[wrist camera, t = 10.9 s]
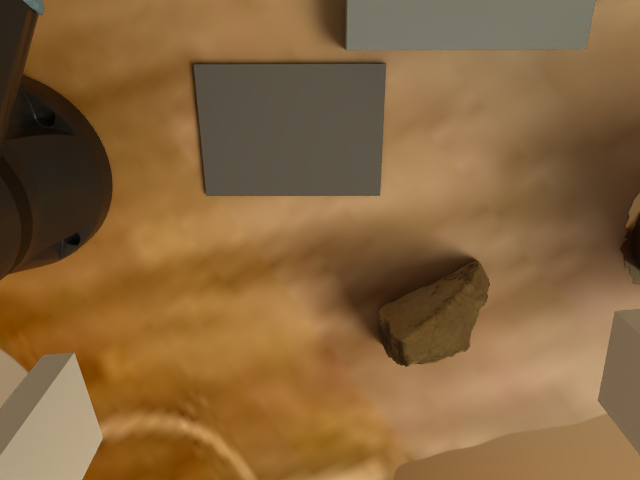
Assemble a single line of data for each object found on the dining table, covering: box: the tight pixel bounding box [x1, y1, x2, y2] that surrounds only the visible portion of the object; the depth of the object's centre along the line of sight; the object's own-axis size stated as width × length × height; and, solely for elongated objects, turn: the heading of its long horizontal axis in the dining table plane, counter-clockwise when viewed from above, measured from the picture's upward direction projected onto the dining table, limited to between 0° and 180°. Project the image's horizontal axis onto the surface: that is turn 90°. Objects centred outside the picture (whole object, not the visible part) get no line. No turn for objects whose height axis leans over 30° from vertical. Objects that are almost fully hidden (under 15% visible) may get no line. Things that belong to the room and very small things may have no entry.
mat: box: [194, 64, 386, 196], centre depth 38 cm, size 14×10×1 cm
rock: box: [379, 260, 490, 367], centre depth 41 cm, size 11×9×10 cm
